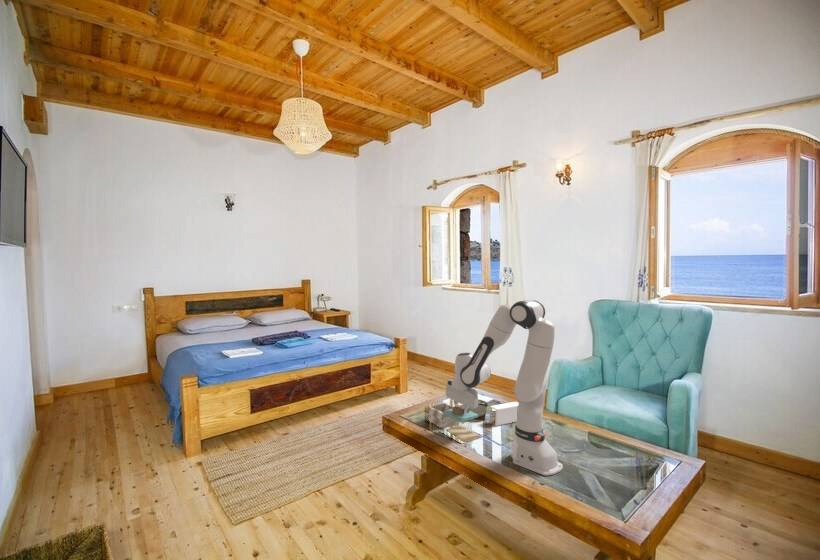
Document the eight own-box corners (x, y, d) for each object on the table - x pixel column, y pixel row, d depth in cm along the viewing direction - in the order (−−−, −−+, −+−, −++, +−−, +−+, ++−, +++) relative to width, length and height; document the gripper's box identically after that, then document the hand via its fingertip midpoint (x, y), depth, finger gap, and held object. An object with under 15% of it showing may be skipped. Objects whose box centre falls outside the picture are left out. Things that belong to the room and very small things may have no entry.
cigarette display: (515, 417, 228) (515, 401, 228) (522, 421, 223) (522, 404, 223) (487, 423, 219) (488, 406, 218) (494, 427, 214) (495, 409, 213)
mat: (481, 437, 200) (481, 436, 200) (461, 444, 192) (461, 443, 192) (459, 426, 213) (459, 425, 213) (439, 432, 204) (439, 431, 204)
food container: (486, 416, 227) (487, 399, 227) (487, 421, 221) (488, 403, 221) (464, 415, 229) (465, 398, 228) (465, 419, 222) (465, 401, 222)
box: (459, 424, 216) (459, 409, 215) (442, 429, 208) (443, 414, 208) (444, 416, 225) (445, 402, 225) (428, 421, 218) (428, 406, 218)
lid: (478, 419, 201) (478, 408, 201) (460, 424, 193) (460, 413, 193) (460, 410, 211) (461, 400, 211) (442, 415, 203) (443, 405, 203)
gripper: (482, 389, 195) (480, 417, 196) (453, 378, 211) (451, 403, 212) (473, 391, 191) (471, 419, 192) (444, 379, 207) (442, 405, 208)
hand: (460, 411), depth 202 cm, fingers closed on lid, 4 cm apart
